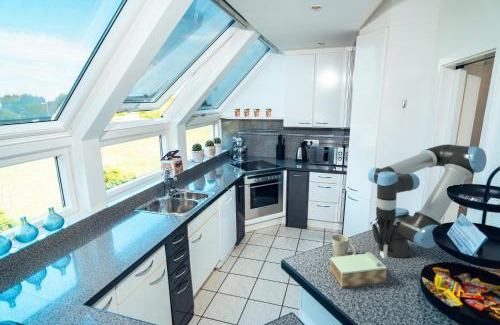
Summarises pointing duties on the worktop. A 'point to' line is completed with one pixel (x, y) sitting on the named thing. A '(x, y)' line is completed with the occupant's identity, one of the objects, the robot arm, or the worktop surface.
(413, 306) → the worktop surface
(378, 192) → the robot arm
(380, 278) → the lid box
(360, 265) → the lid
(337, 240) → the mug
